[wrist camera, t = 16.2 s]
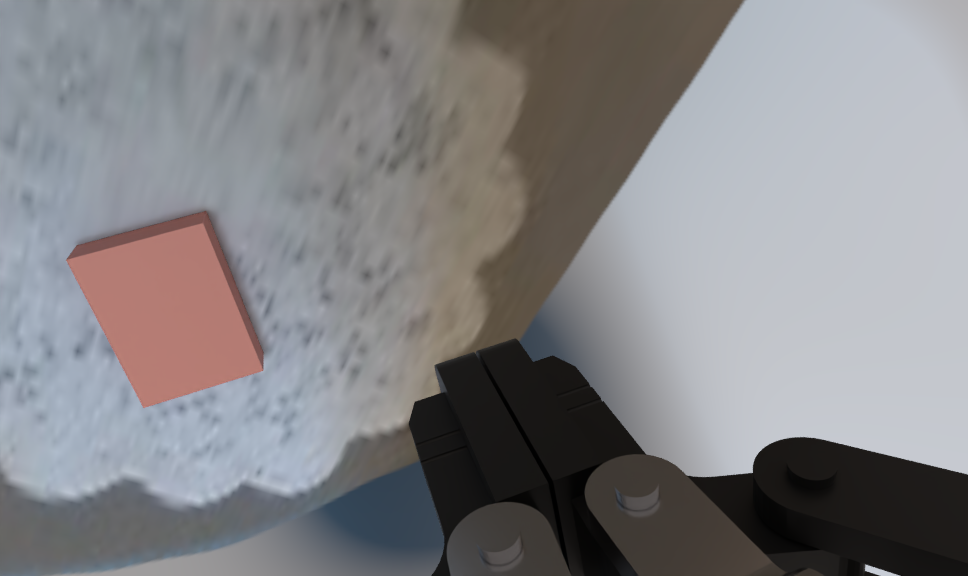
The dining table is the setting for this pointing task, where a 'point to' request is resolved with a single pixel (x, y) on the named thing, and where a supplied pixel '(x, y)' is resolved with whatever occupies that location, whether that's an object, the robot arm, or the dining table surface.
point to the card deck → (169, 307)
